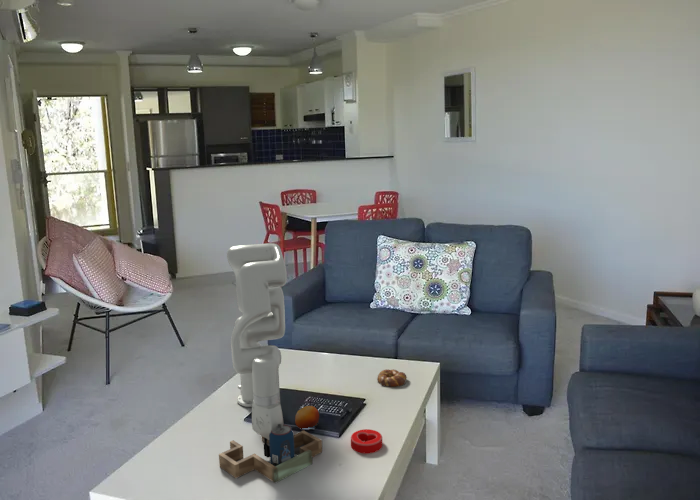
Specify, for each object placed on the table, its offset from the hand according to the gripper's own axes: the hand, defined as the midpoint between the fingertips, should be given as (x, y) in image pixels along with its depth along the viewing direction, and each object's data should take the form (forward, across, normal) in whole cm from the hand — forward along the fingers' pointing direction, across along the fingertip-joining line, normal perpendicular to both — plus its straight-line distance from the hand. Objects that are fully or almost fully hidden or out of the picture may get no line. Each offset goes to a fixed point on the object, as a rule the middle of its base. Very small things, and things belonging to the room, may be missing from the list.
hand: (270, 454), depth 182 cm
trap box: (+1, 0, 0) cm, 1 cm away
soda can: (+1, +6, 0) cm, 7 cm away
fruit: (+2, -7, +20) cm, 21 cm away
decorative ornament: (+2, +15, +25) cm, 29 cm away
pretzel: (+2, -12, +65) cm, 66 cm away
